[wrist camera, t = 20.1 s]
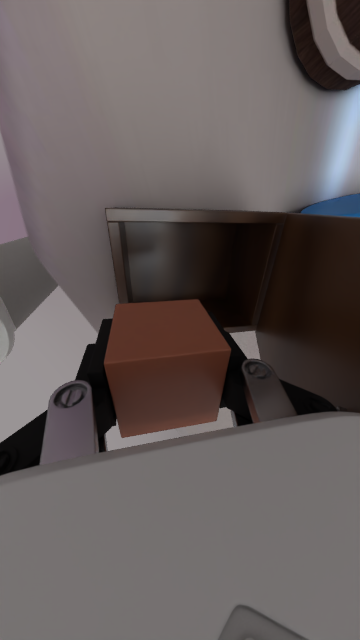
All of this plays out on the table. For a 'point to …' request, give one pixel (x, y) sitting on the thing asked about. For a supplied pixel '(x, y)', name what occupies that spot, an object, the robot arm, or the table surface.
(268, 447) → the robot arm
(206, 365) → the block
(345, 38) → the mug
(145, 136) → the table surface
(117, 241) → the chest
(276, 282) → the lid
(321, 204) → the alarm clock
